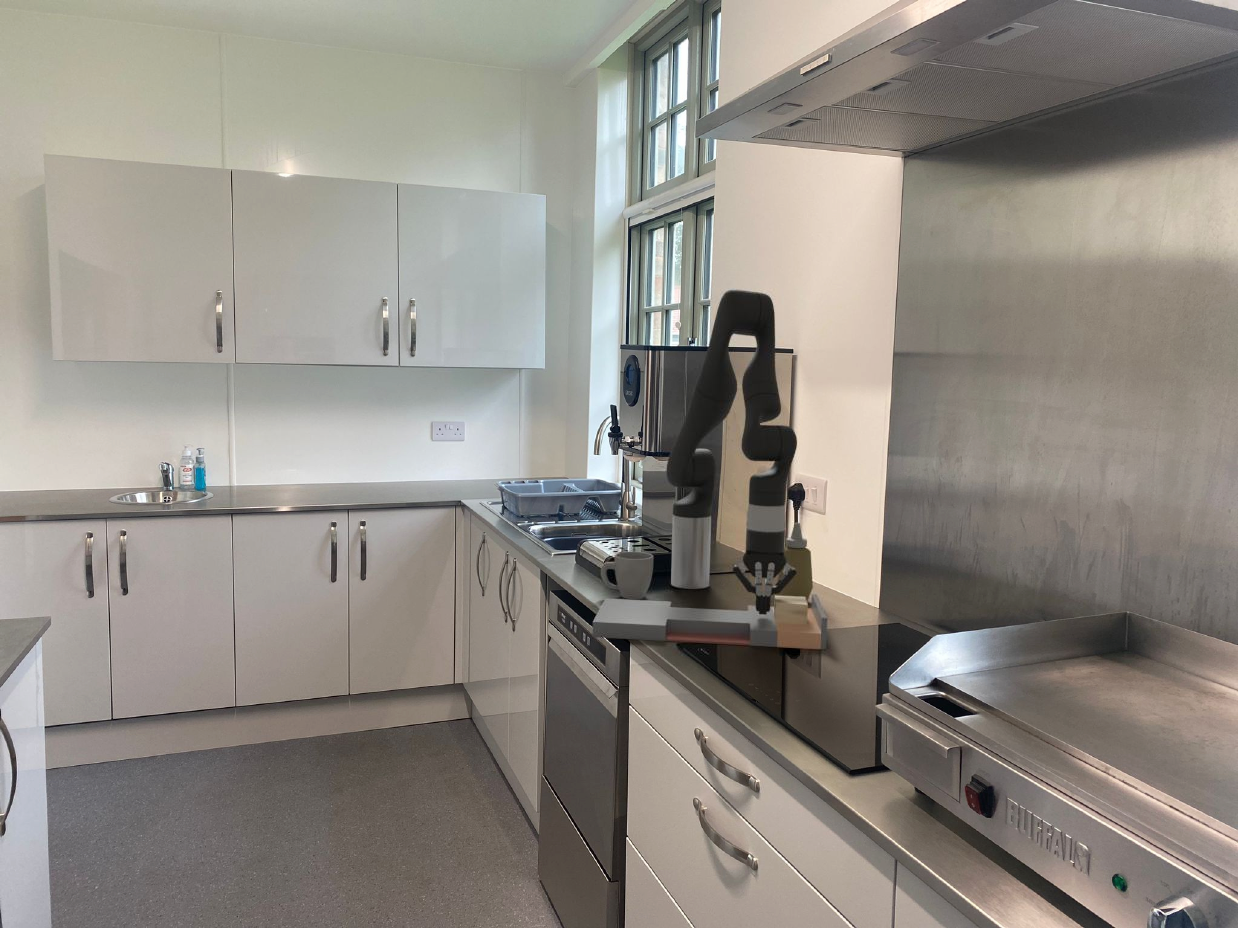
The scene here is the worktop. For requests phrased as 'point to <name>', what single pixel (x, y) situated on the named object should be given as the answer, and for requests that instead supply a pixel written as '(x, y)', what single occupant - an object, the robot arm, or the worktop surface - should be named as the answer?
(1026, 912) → the worktop surface
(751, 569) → the robot arm
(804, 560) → the squeeze bottle
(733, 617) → the trap deck
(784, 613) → the maple block
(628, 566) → the mug
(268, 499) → the worktop surface
